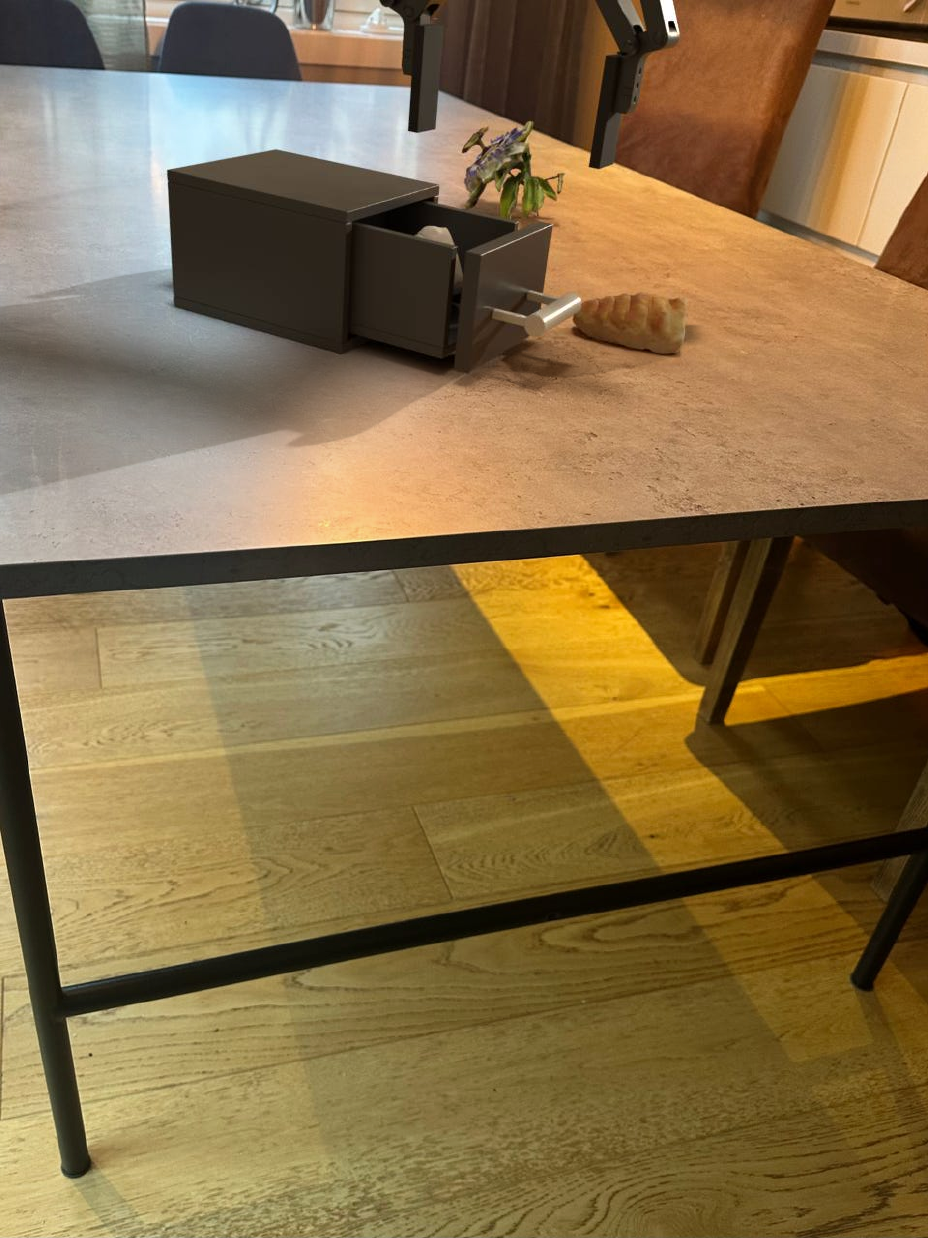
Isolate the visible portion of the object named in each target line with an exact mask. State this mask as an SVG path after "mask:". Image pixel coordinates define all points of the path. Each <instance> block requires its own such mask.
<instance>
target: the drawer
mask: <svg viewBox="0 0 928 1238" xmlns="http://www.w3.org/2000/svg"><path fill="white" fill-rule="evenodd" d="M519 225H520V222H519V221H518V220H514V219H511V220H510V219H505V218H501V217H500V216H496V215H491V214H487V213H482V212H478V211H473V210H470V209H465V208H460V207H455V206H450V205H447V204H441V203H439V202H438V203H434V202H429V201H425V200H421V201H417V202H414V203H411V204H408V205H404V206H401V207H398V208H395V209H392V210H388V211H385V212H382V213H379V214H375V215H372V216H369V217H366V218H362V219H359V220H356V221H353V222H352V237H351V262H350V287H349V312H348V333H352V334H355V335H359V336H362V337H366V338H370V339H371V340H373V341H378V342H380V343H385V344H386V345H387V344H388V345H391V346H395V347H398V348H403V349H406V350H410V351H413V352H416V353H420V354H424V355H427V356H431V357H435V358H438V359H441V360H443V359H444V358H446V357H448V356H449V355H451V354H453V353H455V354H454V364H453V371H456V372H459V373H463V374H467V375H469V374H470V373H473V372H474V371H475V370H477V369H479V368H480V367H482V366H484V365H485V364H486V363H489V362H490V361H492V360H493V359H495V358H497V357H499V356H500V355H502V354H503V353H504V352H507V351H508V350H510V349H511V348H513V347H515V346H516V345H518V344H519V343H521V342H523V341H524V340H526V339H527V338H529V337H532V338H540V337H541V336H543V335H544V334H546V333H548V332H549V331H551V330H552V329H554V328H556V327H557V326H559V325H560V324H562V323H564V322H566V321H567V320H568V319H571V317H572V318H573V315H575V314H576V313H578V312H579V311H580V309H581V304H582V300H581V298H580V296H579V295H578V294H576V293H574V292H568V293H565V294H564V295H562V296H556V295H551V294H546V293H544V289H545V282H546V275H547V269H548V268H547V267H548V261H549V253H550V247H551V241H552V235H553V234H552V233H553V226H554V225H553V223H551V222H550V223H549V222H546V221H541V220H538V221H536V222H534V223H531V224H529V225H527V226H524V227H521V228H520V229H519ZM426 226H436V227H439V228H447V229H448V231H449V233H450V235H451V237H452V240H453V243H454V245H455V246H454V245H450V244H446V243H442V242H438V241H433V240H429V239H425V238H421V237H417V236H414V235H417V233H418V232H419V231H421V230H422V229H423V228H424V227H426ZM457 254H458V257H459V261H460V264H461V268H462V273H463V282H462V291H461V293H459V294H456V295H453V287H454V277H455V266H456V256H457ZM542 304H543V305H545V306H543V307H542Z"/></svg>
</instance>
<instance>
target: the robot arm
mask: <svg viewBox="0 0 928 1238" xmlns="http://www.w3.org/2000/svg"><path fill="white" fill-rule="evenodd" d="M447 1H448V0H379V3H380V5H381V6H382V7H384V8H389V9H390V10H392V11H393V12H394V13H396V14H398V15H399V16H400V17H401V20H402V22H403V36H402V52H401V53H402V55H401V56H402V58H401V69H402V74H403V75H404V76H409V77H410V92H409V107H408V124H407V132H410V133H414V134H419V133H424V132H428V131H429V132H430V131H434V130H436V128H437V116H438V103H439V102H438V101H439V91H440V90H439V89H440V77H441V76H440V75H441V64H442V63H441V62H442V54H443V53H442V52H443V39H444V28H445V27H444V25H443V24H437V23H431V22H435V21H437V20H438V17H435V16H436V15H437V14H438V12H440V10H441V9H442V7H443V6H444V5H445V4H446V2H447ZM594 1H595V3H596V6H597V7H598V9H599V11H600V13H601V15H602V17H603V19H604V22H605V23H606V26H607V28H608V30H609V32H610V34H611V36H612V38H613V40H614V42H615V44H616V46H617V48H618V51H617V52H616V53H614V54H607V55H605V57H604V58H605V59H604V66H603V73H602V78H601V79H602V80H601V86H600V92H599V98H598V103H597V110H596V117H595V124H594V130H593V136H592V143H591V150H590V155H589V161H588V168H589V169H596V170H601V169H604V168H607V167H610V166H612V165H614V163H615V157H616V151H617V145H618V139H619V133H620V127H621V121H622V115H629V114H633V113H634V112H635V110H636V108H637V106H638V103H639V99H640V92H641V87H642V80H643V77H644V69H645V65H646V61H647V59H648V57H649V56H650V55H652V54H653V53H656V52H660V51H663V50H668V49H672V48H674V47H676V46H677V45H678V43H679V41H680V37H681V36H680V35H681V34H680V29H679V25H678V21H677V20H678V19H677V15H676V10H675V5H674V2H673V0H639V4H640V9H641V12H642V13H641V14H642V17H643V21H644V25H645V27H644V25H643V23H642V21H641V19H640V17H639V15H638V13H637V10H636V9H635V6H634V4H633V2H632V0H594Z"/></svg>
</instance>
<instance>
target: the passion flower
mask: <svg viewBox="0 0 928 1238" xmlns="http://www.w3.org/2000/svg"><path fill="white" fill-rule="evenodd" d="M533 127H534V121H533V120H532V121H531V120H529V121H527V122H526V123H525V124H524V127H523V128H522V129H521V130H519V128H518V126H516V127H513V129H511V130H510V132H509V131H506V133H505V134H501V136H496V139H494V140H493V139H490V144H488V145H487V146H486V145H485V144H484V141H483V140H482V139H483V138H484V135H486V133H487V132H488V131H489V129H490V127H489V125H485V127H482V128H480V129H479V130H477V131H476V132H473V133H472V135H471V137H470V138H469V139H468V140H467V141H466V143H464V145H463V148H462V149H461V153H462V154H465V153H468V152H469V151H470V150H471V148H473V147H475V146H479V147H480V149H481V150H482V151H481V152H480V153H479V154H477V157H476V159H475V161H474V162H473V163H471V165H470V166H468V167H467V168H466V169H465V178H464V179H463V180H464V181H463V184H464V187H465V190H466V191H467V192H468V193H469V194H468V196H467V197H466V199H465V200H466V201H465V203H464V207H465V208H466V209H468V210H470V209H473V208H475V207H476V205H477V204H478V202H479V199H480V198H481V196H482V195H483V193H484V192H485V190H486V188H487V186H488V184H490V183H492V182H493V181H494V186H495V189H496V191H497V192H498V193H500V196H499V197H500V198H499V217H501V218H505V219H510V220H512V215H513V214H514V212H515V210H516V207H517V205H518V201H519V200H518V199H519V192H520V186H523V190H522V192H523V193H522V196H521V213H520V214H521V220H525V219H526V218H528V217H529V216H530V215H531V214H532V213H534V214H536V215H537V216H536V217H540V215H539V211H540V210H541V209H542V207H543V205H544V204H545V199H546V197H547V198H549V199H551V200H552V201H555V202H557V201H558V197H557V195H560V194H561V192H562V190H563V184H564V177H565V175H566V173H565V172H563V173H562V172H560V173H557V174H556V175H553V176H550V177H547V178H543V177H542V176H541V177H540V176H535V175H534V176H533V175H532V165H531V162H532V161H531V160H532V154H531V151H530V141H529V139H530V137H529V136H530V134H531V132H532V131H533V129H534V128H533ZM513 170H519V172H517V174H516V175H515V174H513V173H512V171H513ZM508 175H509V176H508ZM507 176H508V177H507ZM555 179H557V182H558V183H557V186H556V187H557V189H556V191H555V190H554V189H553V187H552V185H551V184H550V182H549V180H555Z"/></svg>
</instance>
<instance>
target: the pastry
mask: <svg viewBox="0 0 928 1238" xmlns="http://www.w3.org/2000/svg"><path fill="white" fill-rule="evenodd" d="M687 300H688V299H686V298H682V297H680V296H679V297H676V298H669V297H665V296H661V295H659V294H655V293H648V292H641V291H640V292H638V293H635V294H630V293H621V294H619V295H606V296H604V297H603V298H593V299H588V300H585V301H583V302H581V309H580V311H579V312H578V313H576V314H575V315H573V316H572V323H573V324H574V325H575V327H577V329H579V331H581V332H582V333H584V334H586V336H587V337H588V338H590V337H591V338H594V340H596V341H604V342H605V341H606V342H608V343H610V344H612V345H614V344H617V345H621V346H625V347H626V348H631V349H636V350H641V351H642V350H644V349H646V350H650V351H651V352H652V353H656V354H676V353H677V354H678V353H679V351H680V350H681V349H682V346H683V344H684V341H685V340H684V339H685V334H686V312H687V308H688V301H687Z"/></svg>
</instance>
